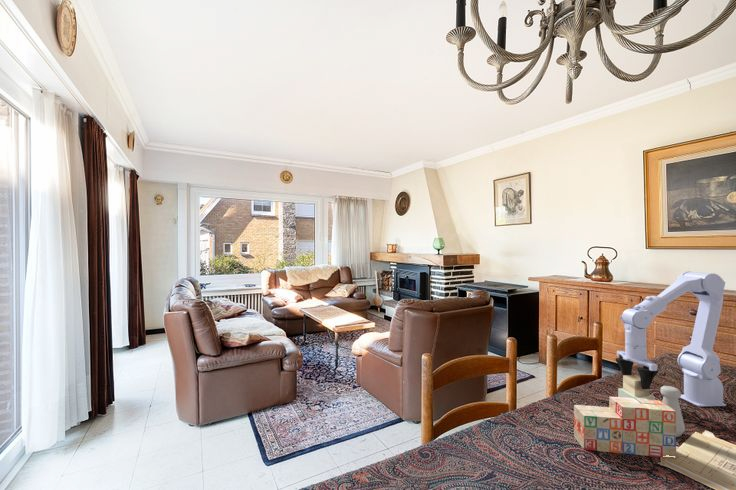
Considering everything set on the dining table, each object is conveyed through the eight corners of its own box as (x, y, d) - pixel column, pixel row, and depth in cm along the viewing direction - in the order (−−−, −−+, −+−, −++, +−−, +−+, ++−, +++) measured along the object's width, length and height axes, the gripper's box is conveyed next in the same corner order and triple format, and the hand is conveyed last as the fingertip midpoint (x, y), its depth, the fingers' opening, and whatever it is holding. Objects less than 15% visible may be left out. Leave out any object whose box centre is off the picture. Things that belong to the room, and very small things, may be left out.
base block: (637, 396, 118) (637, 387, 118) (655, 405, 111) (655, 396, 111) (618, 396, 118) (618, 388, 118) (634, 406, 111) (634, 397, 111)
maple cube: (637, 389, 117) (637, 375, 117) (649, 395, 112) (649, 380, 112) (623, 389, 117) (622, 375, 117) (634, 396, 112) (634, 381, 112)
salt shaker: (678, 429, 97) (677, 384, 97) (689, 440, 92) (689, 393, 92) (653, 426, 99) (653, 382, 99) (663, 436, 94) (663, 390, 94)
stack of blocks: (583, 450, 88) (583, 403, 88) (573, 437, 94) (573, 393, 94) (677, 459, 84) (676, 410, 84) (660, 444, 90) (659, 399, 90)
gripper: (608, 338, 122) (608, 376, 122) (642, 351, 107) (642, 393, 107) (627, 338, 122) (627, 375, 122) (663, 351, 107) (664, 393, 107)
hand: (636, 384), depth 114 cm, fingers open, 7 cm apart
